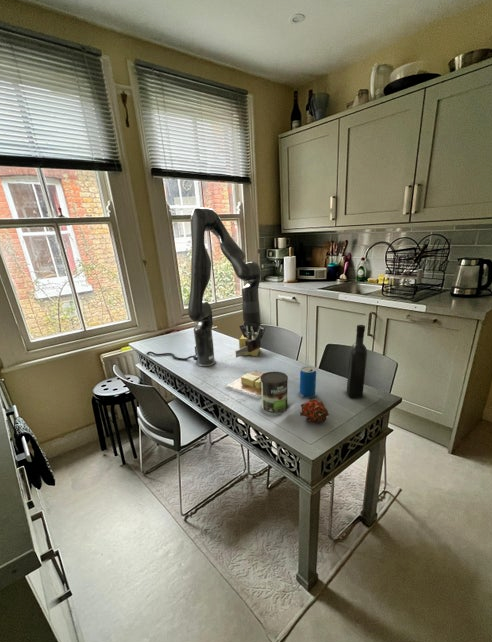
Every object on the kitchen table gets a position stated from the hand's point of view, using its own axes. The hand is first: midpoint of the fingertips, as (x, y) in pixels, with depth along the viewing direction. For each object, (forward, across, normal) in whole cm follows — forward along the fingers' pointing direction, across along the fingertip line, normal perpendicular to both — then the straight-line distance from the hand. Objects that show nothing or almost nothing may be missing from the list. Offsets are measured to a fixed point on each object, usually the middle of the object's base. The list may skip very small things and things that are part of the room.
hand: (253, 346), depth 146 cm
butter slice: (+14, -10, +8) cm, 19 cm away
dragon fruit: (+16, -40, +16) cm, 46 cm away
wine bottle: (+16, -45, -10) cm, 49 cm away
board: (+16, -5, +6) cm, 18 cm away
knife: (+1, 0, +4) cm, 4 cm away
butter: (+14, -4, +8) cm, 17 cm away
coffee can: (+16, -24, +18) cm, 34 cm away
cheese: (+15, +23, -24) cm, 36 cm away
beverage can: (+16, -29, +1) cm, 33 cm away
